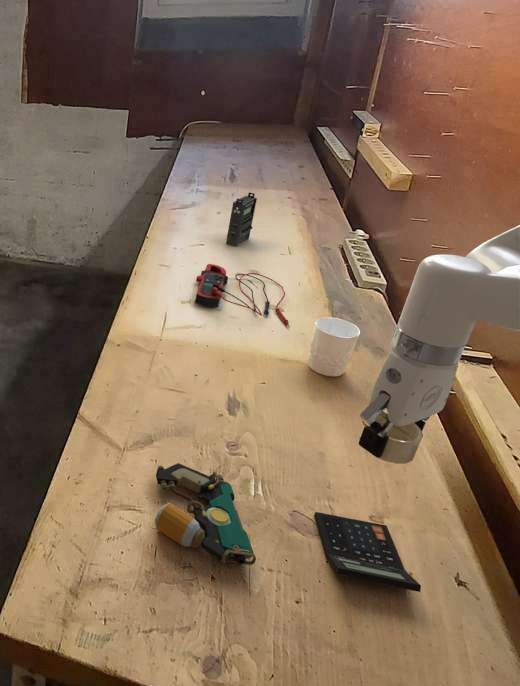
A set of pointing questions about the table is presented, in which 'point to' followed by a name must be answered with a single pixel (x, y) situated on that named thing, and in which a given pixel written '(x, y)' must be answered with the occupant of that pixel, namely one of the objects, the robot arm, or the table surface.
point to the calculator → (363, 551)
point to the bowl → (400, 442)
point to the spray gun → (204, 515)
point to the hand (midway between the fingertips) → (387, 443)
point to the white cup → (332, 345)
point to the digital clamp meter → (213, 288)
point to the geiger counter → (241, 219)
